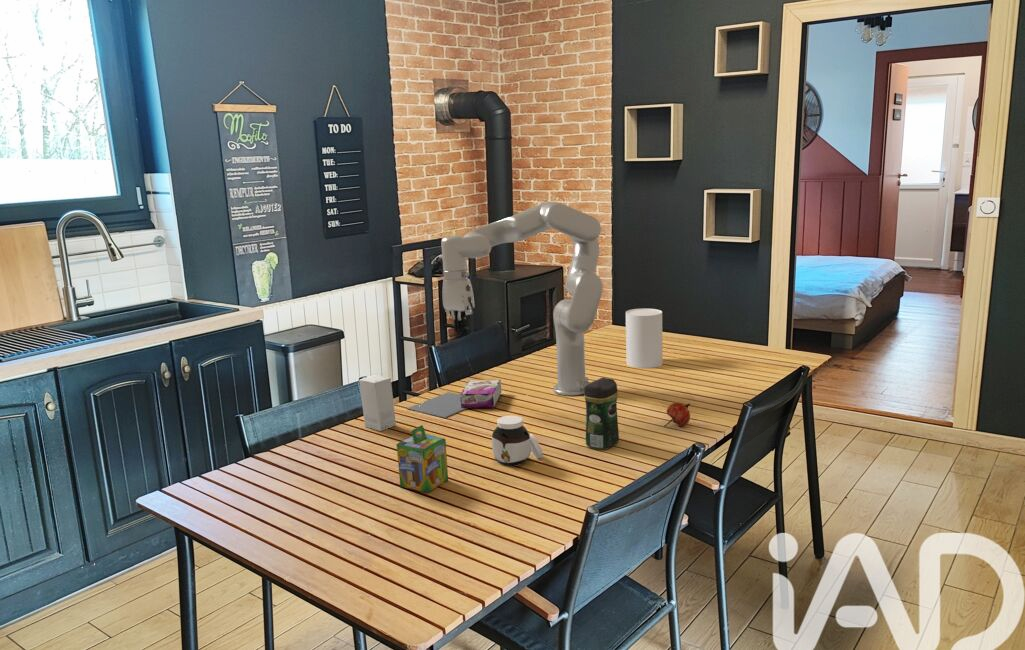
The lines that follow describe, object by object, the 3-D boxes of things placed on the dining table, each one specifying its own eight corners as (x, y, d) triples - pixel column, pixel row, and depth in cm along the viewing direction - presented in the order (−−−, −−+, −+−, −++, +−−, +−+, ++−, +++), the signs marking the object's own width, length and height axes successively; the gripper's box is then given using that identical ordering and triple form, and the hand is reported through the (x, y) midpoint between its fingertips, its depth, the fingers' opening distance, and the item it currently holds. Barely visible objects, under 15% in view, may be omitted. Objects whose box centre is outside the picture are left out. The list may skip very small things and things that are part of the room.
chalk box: (427, 494, 189) (423, 437, 186) (398, 487, 194) (393, 431, 191) (450, 480, 197) (446, 425, 193) (421, 473, 201) (417, 419, 198)
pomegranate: (673, 438, 223) (700, 417, 222) (657, 419, 223) (684, 397, 222) (669, 432, 231) (696, 411, 230) (654, 413, 230) (680, 392, 229)
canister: (626, 358, 301) (625, 308, 297) (661, 358, 299) (661, 308, 295) (626, 368, 288) (625, 316, 284) (663, 368, 286) (663, 315, 282)
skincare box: (396, 426, 238) (392, 377, 234) (379, 432, 233) (375, 383, 230) (379, 420, 243) (375, 373, 240) (362, 426, 239) (358, 378, 235)
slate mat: (485, 401, 258) (485, 399, 258) (444, 418, 243) (444, 417, 243) (448, 393, 268) (448, 392, 268) (406, 409, 253) (406, 408, 253)
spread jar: (488, 461, 207) (486, 420, 205) (517, 448, 215) (515, 408, 213) (521, 472, 199) (519, 429, 197) (549, 458, 207) (548, 417, 205)
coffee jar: (598, 436, 222) (597, 374, 218) (623, 441, 217) (622, 377, 213) (580, 447, 214) (578, 383, 210) (605, 452, 209) (604, 387, 205)
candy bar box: (459, 393, 250) (468, 379, 266) (460, 408, 251) (469, 393, 267) (493, 393, 248) (501, 378, 264) (494, 407, 249) (501, 392, 265)
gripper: (481, 274, 244) (485, 330, 248) (446, 272, 253) (450, 326, 257) (465, 278, 238) (470, 336, 242) (430, 276, 247) (435, 331, 251)
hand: (460, 331), depth 249 cm, fingers closed
